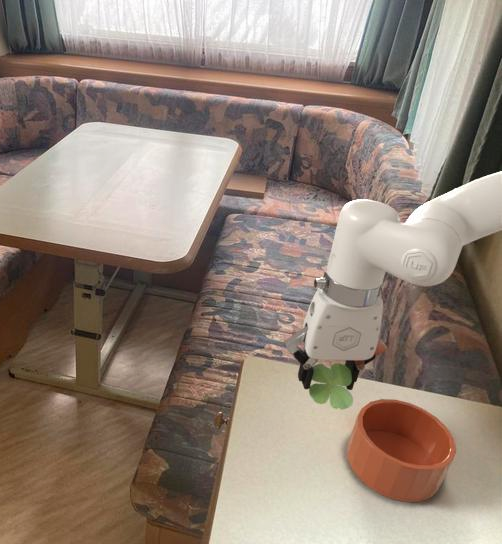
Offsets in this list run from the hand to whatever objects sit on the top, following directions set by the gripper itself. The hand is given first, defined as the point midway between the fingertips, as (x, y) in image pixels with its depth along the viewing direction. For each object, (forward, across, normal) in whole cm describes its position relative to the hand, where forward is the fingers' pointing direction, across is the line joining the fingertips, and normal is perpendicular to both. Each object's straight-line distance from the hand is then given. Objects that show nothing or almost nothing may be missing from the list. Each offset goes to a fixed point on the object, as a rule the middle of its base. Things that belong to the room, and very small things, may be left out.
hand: (325, 382), depth 90 cm
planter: (+8, +9, -9) cm, 15 cm away
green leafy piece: (+2, +1, -1) cm, 3 cm away
